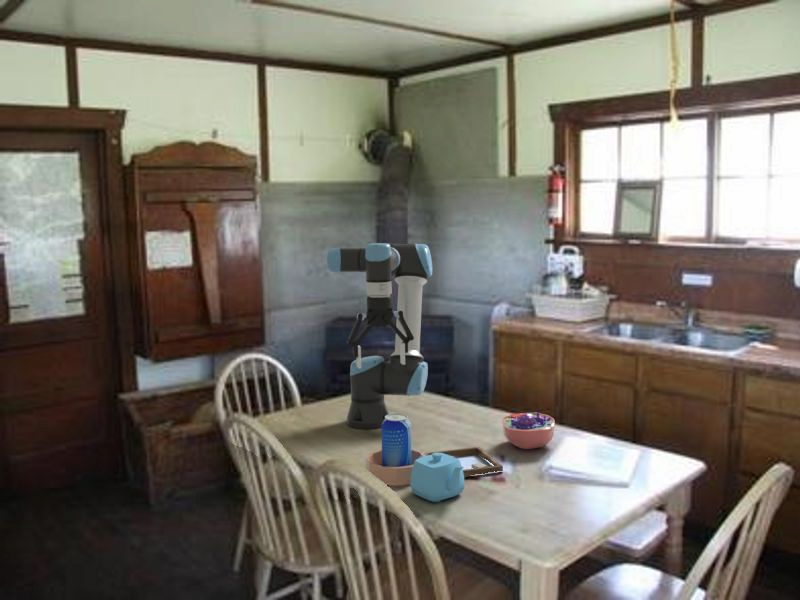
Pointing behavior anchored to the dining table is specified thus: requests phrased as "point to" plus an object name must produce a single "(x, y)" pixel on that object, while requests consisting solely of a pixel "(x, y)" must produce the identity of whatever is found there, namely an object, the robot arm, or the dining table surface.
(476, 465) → the stone
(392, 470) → the dish
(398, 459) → the beer can
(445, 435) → the dining table surface
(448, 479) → the teapot
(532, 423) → the cell model
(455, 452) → the tray
